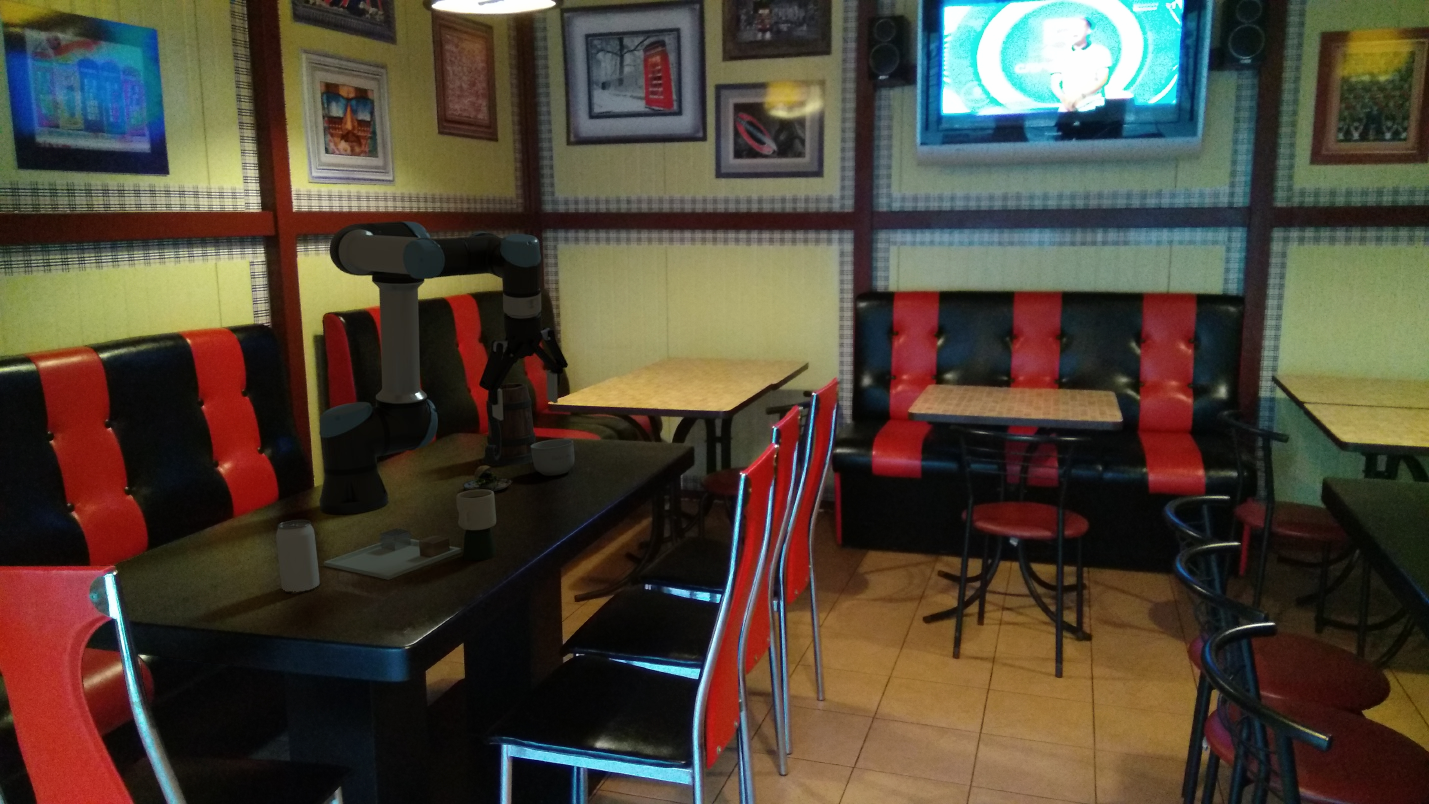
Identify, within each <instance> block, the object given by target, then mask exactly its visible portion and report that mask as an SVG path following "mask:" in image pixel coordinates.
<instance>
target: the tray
mask: <svg viewBox="0 0 1429 804" xmlns="http://www.w3.org/2000/svg"><path fill="white" fill-rule="evenodd" d="M410 540H411V546H408V547H405V548H402V549H399V550H397V551H393V550H388V549H383V548H382V547H381V541H380V542H377V543H375V544H372V545H369V546H365V547H363V548H360V549H357V550H354V551H352V552H348V553H345V554H343V555H339V556H337V557H334V558H331V559H328V560H326V561H323V566H324V567H329V568H334V569H338V570H343V571H347V572H352V573H357V574H360V575H365V576H370V577H375V578H379V579H383V580H387V581H388V580H389V581H390V580H392V579H393V578H396V577H399V576H402V575H405V574H407V573H410V572H412V571H416V570H417V569H420V568H424V567H425V566H428V565H431V564H433V563H437V562H439V561H441V560H444V559H446V558H450V557H452V556H455V555H458V554H461V553H462V548H461V547H456V546H451V545H449V546H450V551H448V552H446V553H443V554H440V555H438V556H435V557H432V558H428V557H423V556H420V549H419V541H420V540H417V539H413V538H410Z"/></svg>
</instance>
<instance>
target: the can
mask: <svg viewBox="0 0 1429 804" xmlns="http://www.w3.org/2000/svg"><path fill="white" fill-rule="evenodd" d="M276 527H277V531H276V533H275V541H276V549H277V558H278V560H277V561H278V569H279V575H280V576H279V577H280V584H281V585H280V586H281V589H283V590H285V591H293V592H294V591H296V592H299V591H305V590H310V589H313V588H315V587H317V586H318V587H319V585H320V584H321V583H320V574H319V573H320V572H319V571H320V570H319V563H318V562H319V561H318V554H317V553H318V552H317V545H316V544H317V543H316V536H315V529H314V527H313V526H312V524H311V521H310V520H308V519H293V520H289V521H284V522H281V523H279V524H278V525H277V526H276ZM318 587H317V588H318ZM315 589H316V588H315ZM283 590H282V591H283Z"/></svg>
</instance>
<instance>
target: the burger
mask: <svg viewBox="0 0 1429 804" xmlns="http://www.w3.org/2000/svg"><path fill="white" fill-rule="evenodd" d="M476 461H477V464H478V465H479V467H477V468H476V470H475V471H474V475H473V478H474V479H473V480H470V481H466V482H465V483H464V484H463V485H462V487H463V490H462V492H465V491H470V490H491V491H493V492H496V491H497V492H498V491H502V490H503V489H506V488H507V487H509V486H510V485H511V484H512V483H513V480H512V479H510V478H503V477H497V475H495V474H494V473H493V472H491V469H492V468H491V466H490V465H480V463H479V461H478V460H476Z"/></svg>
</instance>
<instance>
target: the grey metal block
mask: <svg viewBox="0 0 1429 804" xmlns="http://www.w3.org/2000/svg"><path fill="white" fill-rule="evenodd" d="M379 535H380V536H379V537H380V542H381V547H382V548H383V549H388V550H393V551H397V550H399V549H402V548H405V547H408V546H411V540H410V539H411V533H410V530H407V529H402V528H392V529H390V530H387V531H384V532H381V533H380V534H379Z"/></svg>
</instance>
